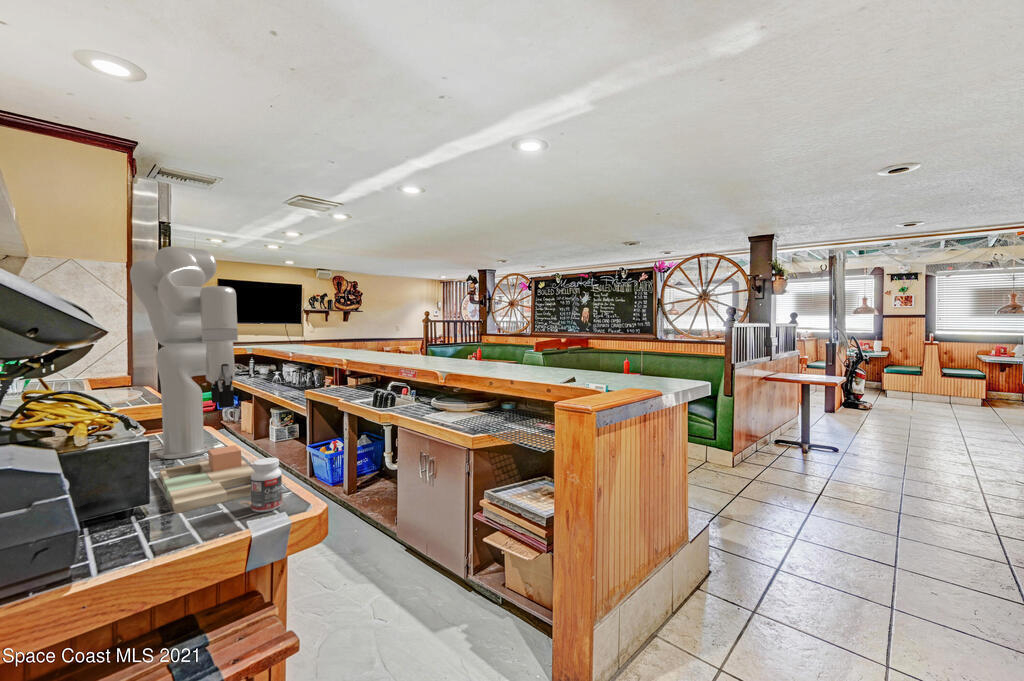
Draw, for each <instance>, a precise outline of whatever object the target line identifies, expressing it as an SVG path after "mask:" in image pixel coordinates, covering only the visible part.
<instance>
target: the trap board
mask: <svg viewBox="0 0 1024 681" xmlns="http://www.w3.org/2000/svg"><path fill="white" fill-rule="evenodd" d="M241 465H242V466H239V467H234V468H229V469H224V470H219V471H213V470H212V469H211V468H210V466H209V460H206V461H200V462H195V463H194V462H193V463H188V464H183V465H177V466H172V467H166V468H161V469H159V472H158V473H159V479H160V481H162V482H161V484H162V483H163V484H162V486H163V488H165V489H164V491H165V490H166V491H165V493H166V496H167V495H168V496H167V498H168V500H169V502H170V505H171V507H172V509H173V511H174V514H180V513H183V512H184V513H185V512H187V511H192V510H196V509H200V508H201V509H202V508H205V507H208V506H213V505H218V504H221V503H226V502H230V501H234V500H238V498H239V499H243V498H247V497H249V496H250V497H251V475H252V473H253V472H255V469H254V468H252V466H250V465H249V464H248V463H247V461H245V460H244V459H243V458H242V457H241ZM242 497H243V498H242Z"/></svg>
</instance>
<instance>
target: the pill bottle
mask: <svg viewBox="0 0 1024 681" xmlns="http://www.w3.org/2000/svg"><path fill="white" fill-rule="evenodd" d="M279 465H280V460H279V458H277V457H265V458H260V459H256V460H255V461H253V470H254V471H255V472H253V473H252V475H251V496H250V506H251V507H250V508H251V510H252V511H253V512H255V513H269V512H271V511H275V510H277V509H279V508H280V507H281V506H282V503H283V488H282V486H283V484H282V483H283V480H282V479H283V476H282V470H281V469H280V468H279Z"/></svg>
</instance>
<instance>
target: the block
mask: <svg viewBox="0 0 1024 681" xmlns="http://www.w3.org/2000/svg"><path fill="white" fill-rule="evenodd" d="M207 454H208V461H209V466H210V468H211V469H212V470H213V471H219V470H224V469H229V468H234V467H239V466H242V465H241V458H242V450H241V449H240V448H239V447H238V446H237V445H230V446H224V447H218V448H210V450H208V451H207Z"/></svg>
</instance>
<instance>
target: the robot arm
mask: <svg viewBox="0 0 1024 681" xmlns="http://www.w3.org/2000/svg"><path fill="white" fill-rule="evenodd" d="M217 267H218V265H217V260H216V258H215V256H214V255H213V253H212V252H210V251H208V250H206V249H202V248H200V249H199V248H193V247H192V248H191V247H182V246H165V247H162V248H160V249H159V250H157V252H156V253H155V254H154V259H142V260H138V261H136V262H134V263H133V264H132V265H131V267H130V271H129V279H130V283H131V286H132V289H133V291H134V293H135V295H136V297H137V299H139V301H140V302H141V304H142V305H143V307H144V308H145V310H146V312H147V315H148V316H147V317H148V318H149V322H150V326H151V329H152V332H153V334H154V337H155V339H156V341H157V342H158V343H159V345H161V346H162V347H161V348H159V349H158V351H156V355H155V364H156V368H157V372H158V376H159V377H158V378H159V381H160V382H159V383H160V394H161V396H160V398H161V417H162V419H161V420H162V444H163V446H162V448H160V449H159V450H157V452H156V457H157V458H159V459H163V460H167V459H168V460H174V459H175V460H176V459H184V458H189V457H195V456H199V455H202V454H205V453H208V450H210V449H211V444H210V443H207V442H205V441H204V440H205V439H204V412H203V411H204V407H203V406H204V405H203V404H204V403H203V402H204V401H203V389H202V388H201V386H200V385H199V384H198V383H197V382H195V381H194V380H193V378H192V377H197V376H205V380H206V381H207V382H209V383H210V384H211V387H210V390H211V391H210V392H211V393H210V394H211V395H210V396H211V402H212V403H213V404H214V403H215V404H216V403H217V404H218V405H217V406H218V408H219V409H224V408H225V409H226V408H233V407H235V390H234V383H233V381H234V380H235V377H236V376H235V375H236V372H235V368H236V367H235V366H236V365H235V353H234V352H235V351H234V350H235V349H234V343H238V342H239V340H238V339H239V335H238V334H239V333H238V313H237V312H238V311H237V309H238V308H237V293H236V290H235V289H234V288H233V287H231V286H224V285H223V286H222V285H221V286H220V285H211V286H210V285H209V286H204V285H206V284H207V283H208V282H209V281H210V280H211V279H212V278H214V276H215V274H216V273H217V269H218V268H217Z"/></svg>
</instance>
